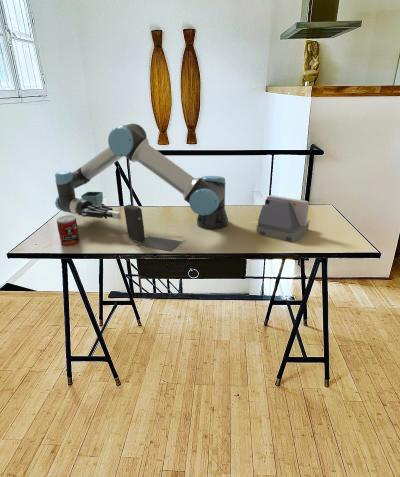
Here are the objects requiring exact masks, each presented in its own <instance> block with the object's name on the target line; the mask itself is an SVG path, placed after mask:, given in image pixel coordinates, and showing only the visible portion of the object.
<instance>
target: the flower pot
mask: <svg viewBox="0 0 400 477" xmlns="http://www.w3.org/2000/svg"><path fill="white" fill-rule="evenodd" d="M103 193H104V192H103V191H86V192H85V193H83V194H81V195H80V197H81V198H80V199H83V200H88V201H91V202H92V203H93V205H98V206H100V205H101V204H103V201H104V200H103V198H104V197H103Z"/></svg>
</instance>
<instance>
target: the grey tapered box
mask: <svg viewBox="0 0 400 477" xmlns="http://www.w3.org/2000/svg"><path fill="white" fill-rule="evenodd" d="M309 205H310V203H309V201H308V200H302V199H296V198H290V197H285V196H278V195H271V194H270V195H267V197H266V199H265V200H264V204H263V205H262V206H261V211H260V214H259V216H258V218H257V225H256V230H255V232H256V234H258V235H261V236H266V237H268V238H269V237H270V238H275V239H279V240H282V241H287V242H291V243H296V242H299V240H301V238H302V237H303V236H304V235H306V233H307V232H308V231H309V224H310V219H308V212H309Z"/></svg>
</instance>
